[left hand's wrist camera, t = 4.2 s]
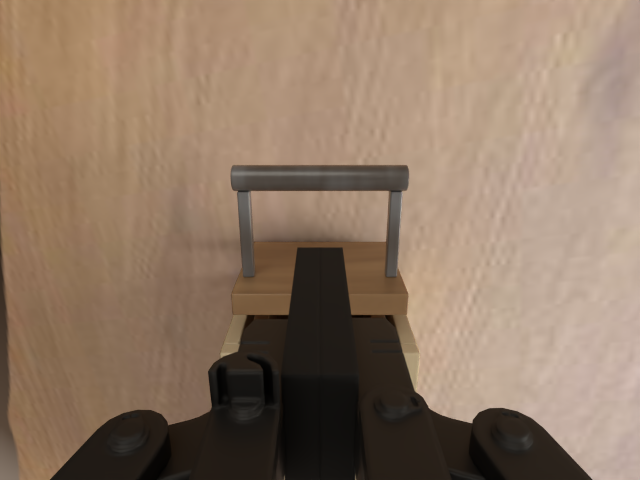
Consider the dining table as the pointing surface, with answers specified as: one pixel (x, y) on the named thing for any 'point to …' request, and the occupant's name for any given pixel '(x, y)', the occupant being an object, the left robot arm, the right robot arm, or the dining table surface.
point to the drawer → (279, 257)
